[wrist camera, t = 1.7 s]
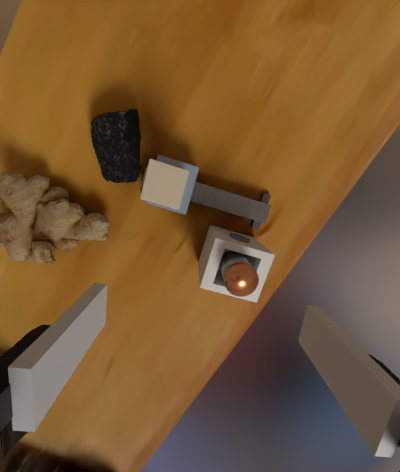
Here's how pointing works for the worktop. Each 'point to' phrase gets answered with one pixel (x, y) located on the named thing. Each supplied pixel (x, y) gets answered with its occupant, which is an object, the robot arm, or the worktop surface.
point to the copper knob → (238, 274)
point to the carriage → (169, 184)
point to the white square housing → (229, 240)
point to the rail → (230, 202)
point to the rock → (117, 145)
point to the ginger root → (43, 219)
